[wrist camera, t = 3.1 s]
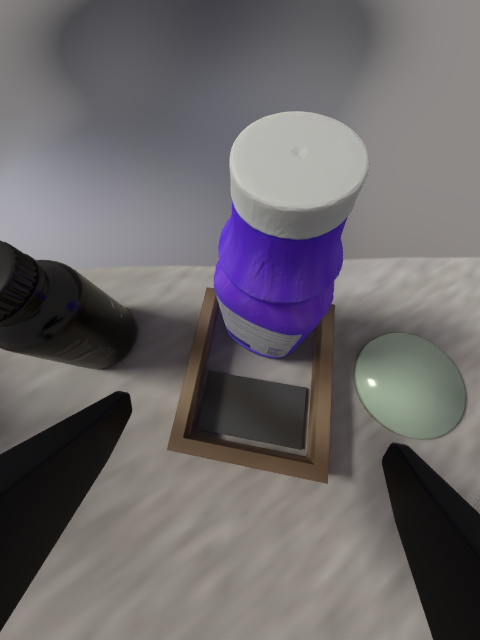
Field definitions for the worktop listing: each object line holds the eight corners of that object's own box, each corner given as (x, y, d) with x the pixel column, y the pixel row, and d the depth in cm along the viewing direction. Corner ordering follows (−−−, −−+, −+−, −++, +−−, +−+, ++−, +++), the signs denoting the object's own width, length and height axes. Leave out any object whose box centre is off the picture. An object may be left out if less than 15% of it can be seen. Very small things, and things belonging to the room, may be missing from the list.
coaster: (482, 399, 20) (489, 399, 19) (404, 460, 19) (409, 462, 18) (405, 317, 23) (409, 315, 22) (333, 366, 21) (335, 365, 21)
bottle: (308, 321, 23) (451, 122, 7) (285, 372, 21) (396, 277, 5) (244, 291, 24) (232, 69, 8) (218, 337, 23) (136, 176, 6)
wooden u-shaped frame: (317, 473, 19) (327, 483, 16) (176, 444, 20) (167, 449, 17) (326, 314, 23) (334, 304, 21) (210, 298, 24) (206, 287, 22)
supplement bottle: (146, 308, 24) (56, 228, 13) (128, 374, 22) (-1, 345, 11) (86, 302, 25) (-51, 219, 14) (62, 365, 23) (-126, 329, 11)
